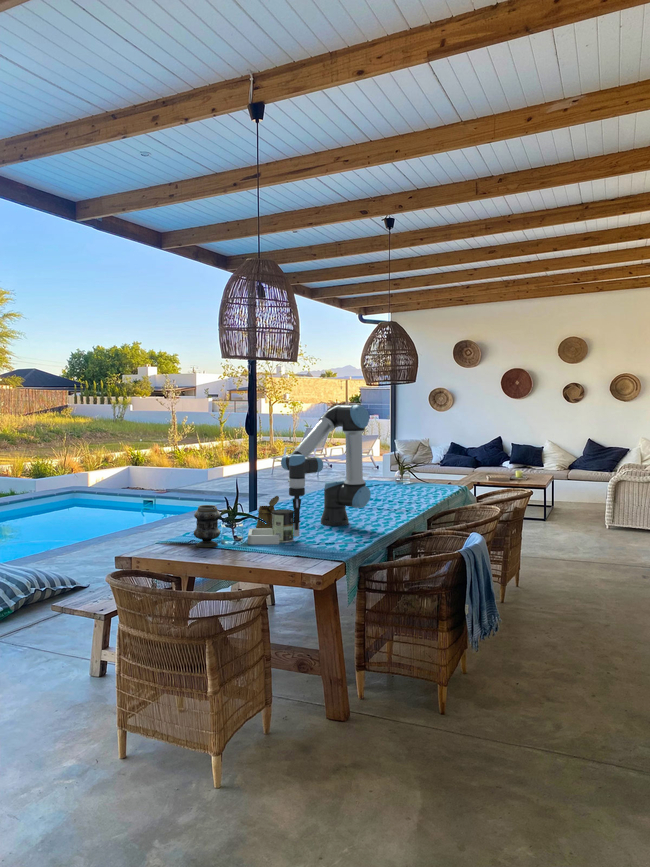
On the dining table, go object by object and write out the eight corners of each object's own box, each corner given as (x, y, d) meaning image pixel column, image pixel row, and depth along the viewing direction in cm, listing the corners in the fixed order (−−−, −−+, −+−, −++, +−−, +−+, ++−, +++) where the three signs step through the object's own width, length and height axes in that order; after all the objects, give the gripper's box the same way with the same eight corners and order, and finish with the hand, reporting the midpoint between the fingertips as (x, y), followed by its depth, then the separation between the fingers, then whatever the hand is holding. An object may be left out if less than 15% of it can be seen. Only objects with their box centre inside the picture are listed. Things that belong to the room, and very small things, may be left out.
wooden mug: (270, 531, 314) (271, 496, 313) (252, 527, 323) (252, 493, 322) (283, 529, 321) (283, 494, 320) (264, 525, 329) (265, 491, 328)
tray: (279, 536, 303) (279, 528, 303) (279, 544, 287) (279, 535, 287) (249, 536, 302) (249, 528, 302) (247, 544, 286) (247, 535, 286)
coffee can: (293, 537, 301) (293, 509, 300) (293, 542, 290) (293, 513, 290) (272, 537, 300) (272, 509, 299) (271, 542, 290) (271, 512, 289)
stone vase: (224, 546, 282) (224, 507, 281) (198, 549, 276) (198, 509, 275) (215, 541, 292) (215, 503, 291) (190, 543, 286) (190, 505, 285)
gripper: (288, 485, 300) (288, 533, 302) (289, 489, 287) (288, 539, 289) (304, 485, 301) (303, 533, 302) (305, 489, 288) (304, 539, 289)
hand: (296, 536), depth 296 cm, fingers closed
